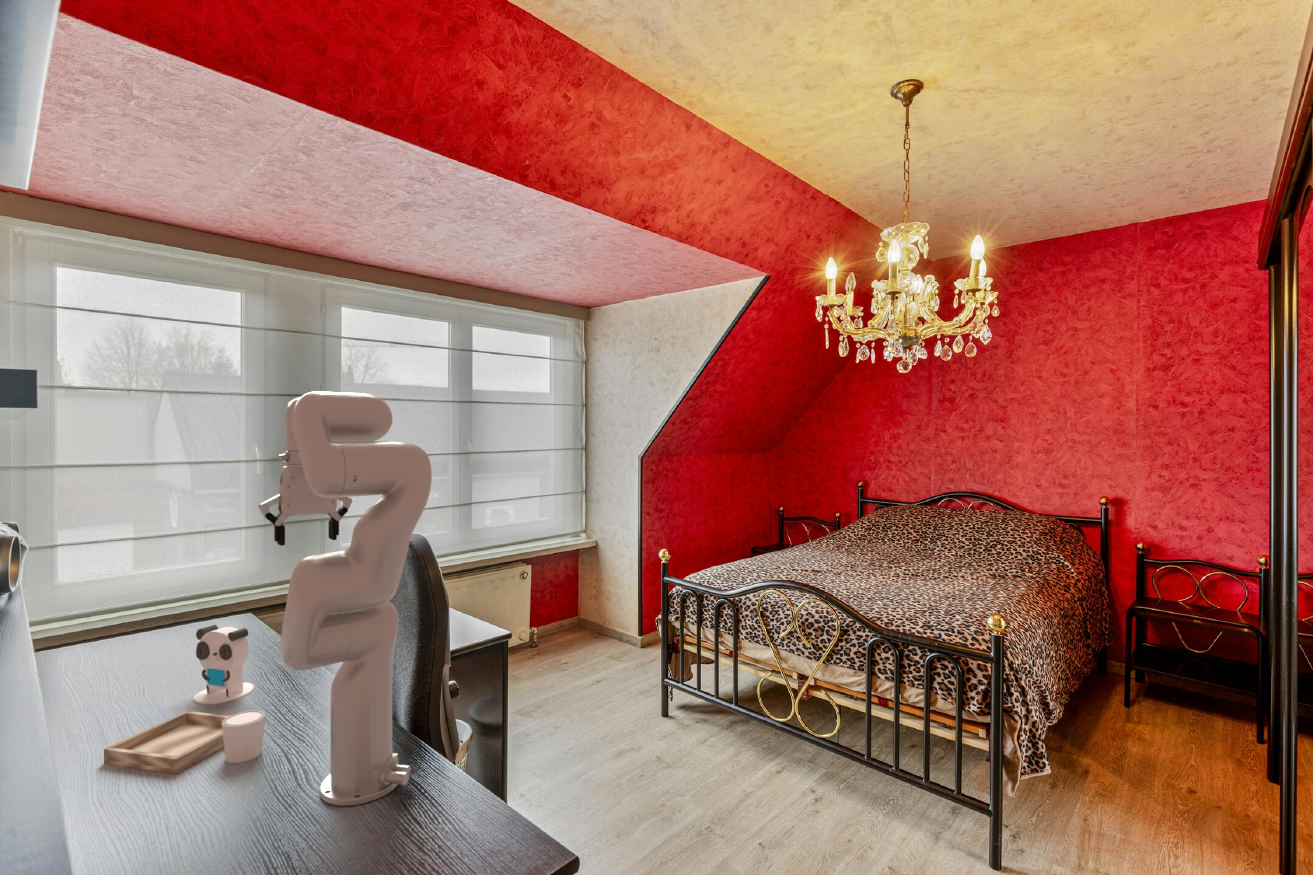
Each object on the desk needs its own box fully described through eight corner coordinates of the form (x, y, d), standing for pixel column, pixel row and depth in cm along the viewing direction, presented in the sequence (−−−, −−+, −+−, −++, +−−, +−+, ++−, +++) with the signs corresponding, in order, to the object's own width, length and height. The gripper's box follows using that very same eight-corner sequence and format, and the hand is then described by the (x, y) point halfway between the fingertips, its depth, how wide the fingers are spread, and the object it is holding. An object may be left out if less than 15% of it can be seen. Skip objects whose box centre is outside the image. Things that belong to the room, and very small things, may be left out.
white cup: (244, 766, 112) (243, 727, 112) (211, 762, 114) (211, 724, 114) (274, 747, 119) (274, 711, 119) (243, 744, 120) (243, 707, 120)
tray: (252, 731, 125) (252, 718, 125) (176, 773, 110) (176, 759, 110) (187, 723, 129) (187, 710, 129) (103, 763, 113) (103, 749, 113)
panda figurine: (179, 699, 140) (179, 633, 140) (227, 680, 151) (227, 618, 151) (219, 707, 136) (219, 638, 136) (265, 686, 147) (265, 623, 147)
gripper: (263, 461, 121) (263, 549, 121) (357, 459, 133) (357, 539, 133) (254, 460, 127) (254, 544, 127) (346, 457, 138) (346, 535, 139)
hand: (307, 541), depth 130 cm, fingers open, 9 cm apart
